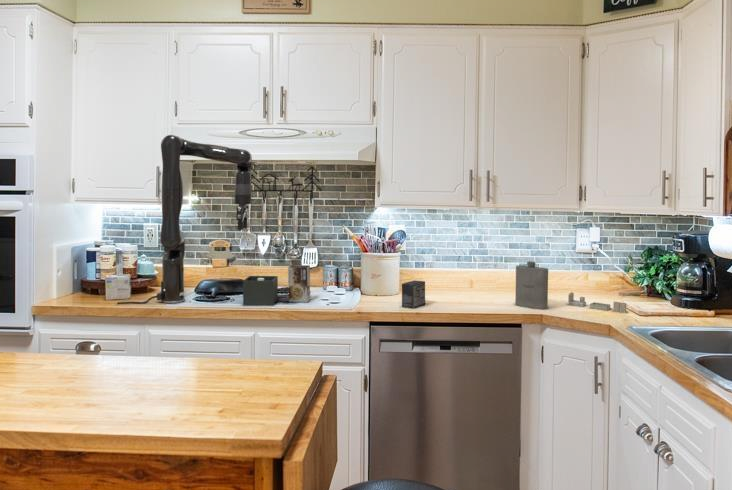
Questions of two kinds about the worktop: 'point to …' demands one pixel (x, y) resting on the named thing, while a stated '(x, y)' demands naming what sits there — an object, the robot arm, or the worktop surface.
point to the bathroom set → (597, 304)
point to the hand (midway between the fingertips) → (242, 228)
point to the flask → (531, 286)
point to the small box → (413, 294)
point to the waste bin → (260, 290)
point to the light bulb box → (118, 286)
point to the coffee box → (299, 283)
